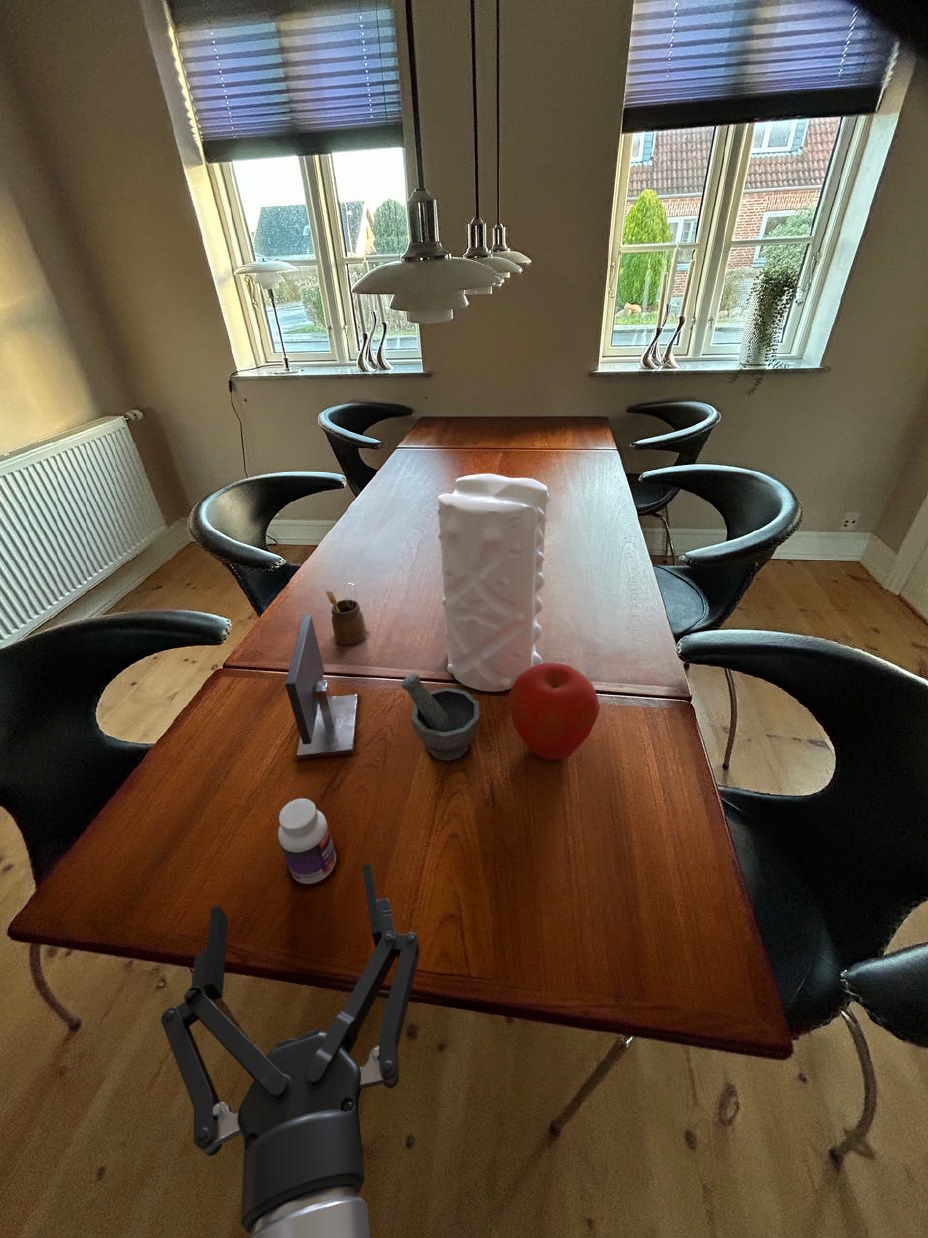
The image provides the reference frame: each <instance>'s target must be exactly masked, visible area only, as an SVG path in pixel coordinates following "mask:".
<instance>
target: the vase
mask: <svg viewBox="0 0 928 1238" xmlns="http://www.w3.org/2000/svg"><path fill="white" fill-rule="evenodd" d="M454 485H455V489H454V491H453V492H452V493H443V494H439V495H438V496H437V502H438V505H437V506H438V509H437V514H438V524H439V533H438V539H439V540H440V541H439V543H440V557H441V558H440V559H441V560H440V561H441V574H442V589H443V598H442V600H441V604H442V606H444V620H445V633H444V637H445V638H446V650H447V668H446V671H447V672H448V673H450V674H453V677H454V679H455V680H456V681H458V683H460V684H461V685H464V686H466V687H468V688H471V689H475V690H478V691H481V692H482V691H483V692H504V691H507V690H511V689H512V687H513V685H514V683H515V681H516V679H517V677H518V675H520V674H521V673H522V672H524V671H525V670H526V669H528V668H530V667H533V666H536V665H540V664H543V658H542V657H541V655H540V654H538V653H537V649H536V643H537V641H539V640H540V638H541V636H542V627H541V626H540V624H538V615H539V614H540V613H541V612H542V610H543V607H544V604H543V601H542V600H541V598H540V597H541V589H543V587H544V585H545V576H544V575H543V566H544V561H545V557H544V553H545V538H546V537H545V534H546V523H547V522H548V520H549V517H548V515H547V504H548V503H549V501H550V499H551V496H550V494H549V493H548V486H547V485H545V484H544V483H542V482H540V481H538V480H536V479H534V478H530V477H507V476H504V475H501V474H500V475H499V474H495V473H479V474H471V475H465V476H461V477H458V478H457V479H456V480H455V482H454Z"/></svg>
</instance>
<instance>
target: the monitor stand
mask: <svg viewBox="0 0 928 1238" xmlns="http://www.w3.org/2000/svg"><path fill="white" fill-rule="evenodd" d="M316 694H317V698H318V702H319V703H318V709H317V715H316V720H315V726H314V732H313V738H312V743H311V744H304V745H303V743H302V740H301V737H300V736H299V741H298V746H297V751H296V758H297V760H298V761H299V760H309V759H316V758H317V759H319V758H326V757H336V756H347V755H353V754H354V747H355V734H356V723H357V712H358V711H357V710H358V700H359V699H358V695H357V694H356V693H355V694H348V695H347V694H346V695H337V696H332V695H331V691H330V686H329V682H328V680H327V679H325V680H322V681H318V683H317V688H316Z"/></svg>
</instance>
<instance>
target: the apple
mask: <svg viewBox="0 0 928 1238" xmlns="http://www.w3.org/2000/svg"><path fill="white" fill-rule="evenodd" d="M506 697H507V703H508V707H509V712H510V716H511V721H512V724H513V727H514V729H515V731H516V732H517V734H518V736H519V737H520V738H521V740H522V742H523V744H524V745H525V746H526V748H527V750H529V751H530V752H531V753H533V754H534V755H536V756H538V757H540V758H543V759H546V760H562V759H564V758H568V757H570V756H571V755H573V753H575V751H576V750H578V748H579V747H580V746H581V745H582V744H583V742H585V740H586V739H587V738H588V737H589V736H590V735H591V732H592V730H593V727H594V725H595V724H596V721H597V718H598V716H599V713H600V710H601V705H600V702H599V699H598V695H597V692H596V690H595V687H594V685H593V683H592V682H591V681H590V680H589V679H588V678H587V677H586V676H585V675H584V674H583V673H582V672H580V671H578V670H577V669H575V668H573V666H570V665H568V664H563V663H559V662H543V663H542V664H540V665H536V666H533V667H530V668H528V669H526V670H525V671H524V672H522V673H521V674H520V675H518V677H517V679H516V681H515V683H514V685H513V687H512V688H511V689H510V691H509V693H508V695H507V696H506Z"/></svg>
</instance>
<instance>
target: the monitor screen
mask: <svg viewBox="0 0 928 1238" xmlns="http://www.w3.org/2000/svg"><path fill="white" fill-rule="evenodd" d="M314 625H315V624H314V621H313V617H312V614H303V615H302V619H301V622H300V626H299V629H298V630H299V631H298V633H297V638H296V642H295V645H294V647H293V648H294V649H293V653H292V656H291V660H290V664H289V668H288V672H287V676H286V679H285V683H284V685H285V689H286V692H287V695H288V699H289V702H290V705H291V709H292V713H293V716H294V720H295V723H296V726H297V730H298V733H299V738H300V737H301V740H302V743H303V745H304V744H311V743H312V738H313V732H314V726H315V720H316V715H317V709H318V703H319V702H318V698H317V694H316V688H317V683H318V681H324V673H325V668H324V664H323V659H322V655H321V651H320V647H319V642H318V638H317V635H316V630H315V629H316V628H315V626H314Z"/></svg>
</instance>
